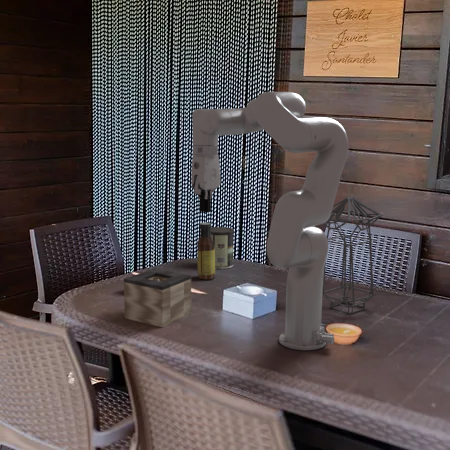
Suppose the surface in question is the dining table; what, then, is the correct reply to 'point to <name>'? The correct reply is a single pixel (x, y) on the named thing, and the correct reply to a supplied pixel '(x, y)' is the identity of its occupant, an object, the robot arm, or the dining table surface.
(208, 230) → the sauce bottle
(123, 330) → the dining table surface
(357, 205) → the geometric lantern
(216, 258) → the coffee can
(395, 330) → the dining table surface
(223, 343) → the dining table surface
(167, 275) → the socket
